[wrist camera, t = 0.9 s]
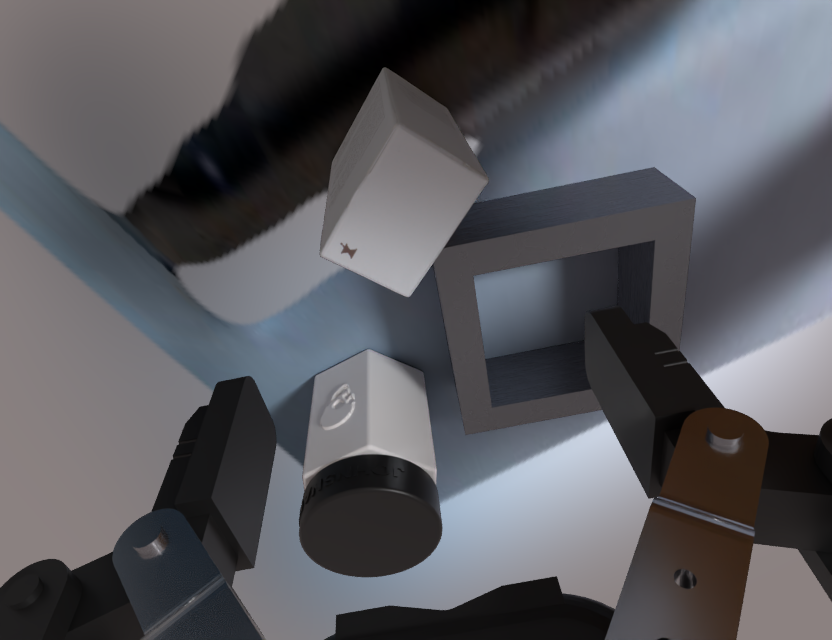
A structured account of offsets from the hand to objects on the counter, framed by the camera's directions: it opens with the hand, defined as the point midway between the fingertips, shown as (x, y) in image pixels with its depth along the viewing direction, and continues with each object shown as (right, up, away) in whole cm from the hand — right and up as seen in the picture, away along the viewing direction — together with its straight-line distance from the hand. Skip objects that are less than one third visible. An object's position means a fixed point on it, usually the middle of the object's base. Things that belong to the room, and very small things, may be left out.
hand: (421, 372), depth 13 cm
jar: (-4, -4, +28) cm, 28 cm away
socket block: (+8, +3, +24) cm, 25 cm away
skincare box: (-2, +12, +18) cm, 21 cm away
